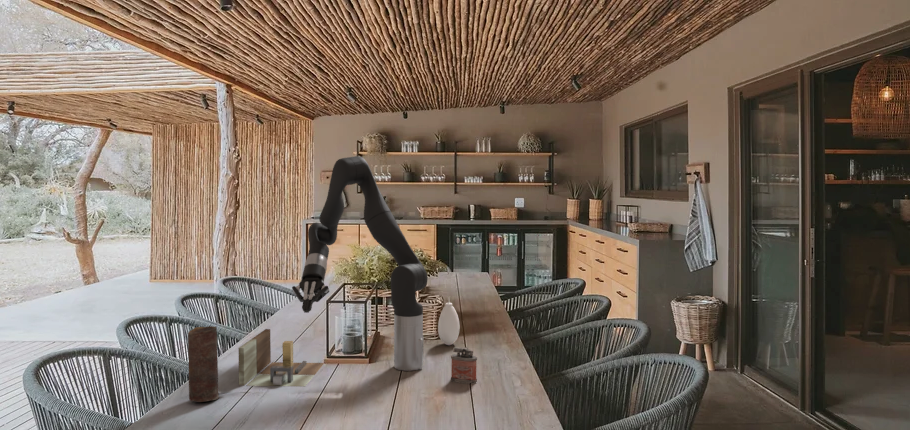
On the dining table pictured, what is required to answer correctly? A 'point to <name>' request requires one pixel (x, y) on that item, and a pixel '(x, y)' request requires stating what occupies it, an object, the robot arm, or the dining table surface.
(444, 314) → the white ceramic vase
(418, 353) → the robot arm
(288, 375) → the rails
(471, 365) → the lighter
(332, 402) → the dining table surface
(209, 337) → the candle
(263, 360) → the door mockup
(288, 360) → the bolt
